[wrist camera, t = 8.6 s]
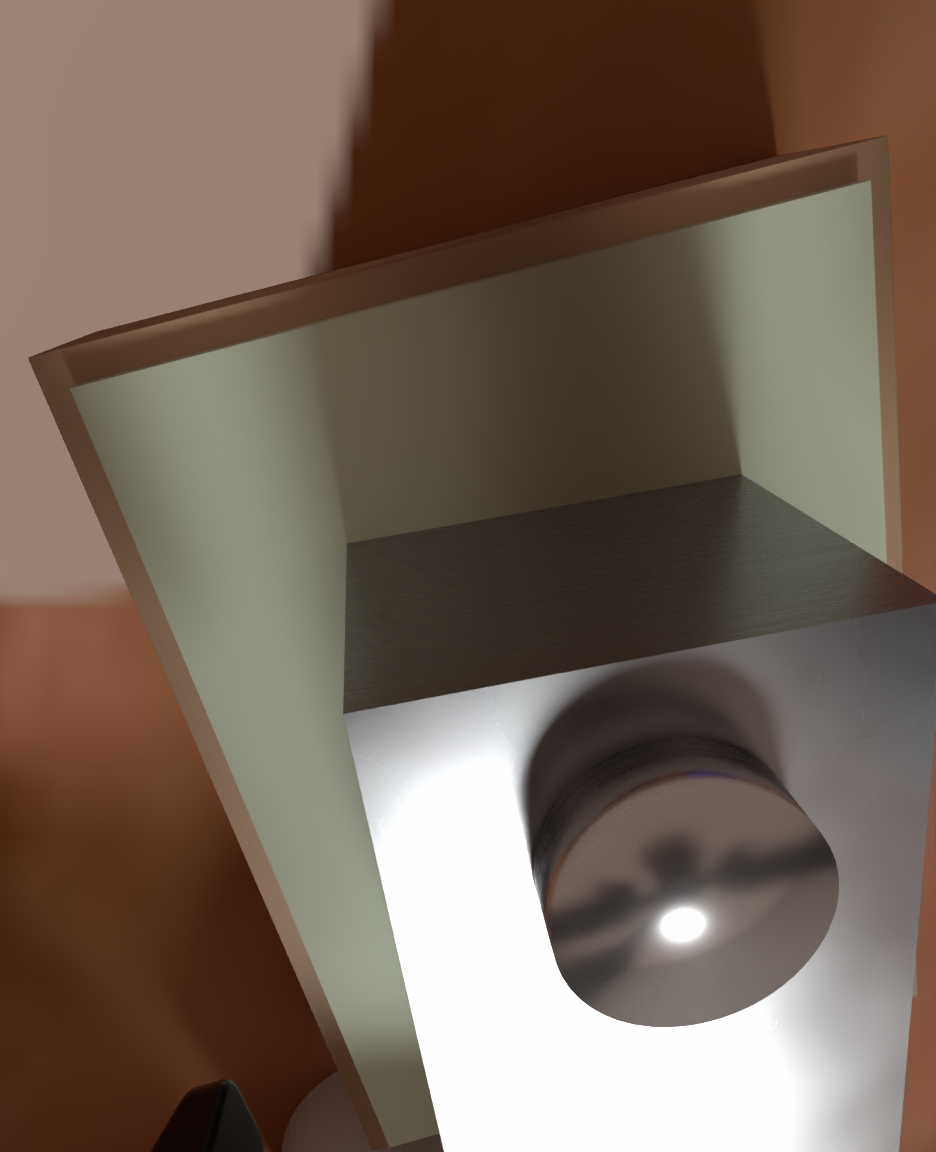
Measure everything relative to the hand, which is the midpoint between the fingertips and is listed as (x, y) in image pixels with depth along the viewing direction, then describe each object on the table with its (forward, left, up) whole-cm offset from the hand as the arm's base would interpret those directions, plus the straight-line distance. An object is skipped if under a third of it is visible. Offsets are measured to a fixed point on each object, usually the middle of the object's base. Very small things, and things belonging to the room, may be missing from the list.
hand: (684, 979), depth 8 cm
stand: (0, 0, -7) cm, 7 cm away
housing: (0, 0, -4) cm, 4 cm away
